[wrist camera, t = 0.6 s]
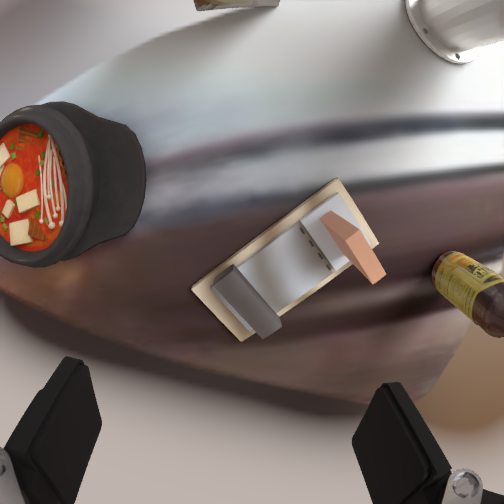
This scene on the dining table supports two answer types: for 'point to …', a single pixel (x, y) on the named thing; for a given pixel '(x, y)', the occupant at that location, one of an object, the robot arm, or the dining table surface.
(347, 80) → the dining table surface
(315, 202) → the ticket board
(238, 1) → the coffee box
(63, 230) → the casserole
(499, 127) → the dining table surface
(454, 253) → the sauce bottle
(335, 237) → the tan and white stand
